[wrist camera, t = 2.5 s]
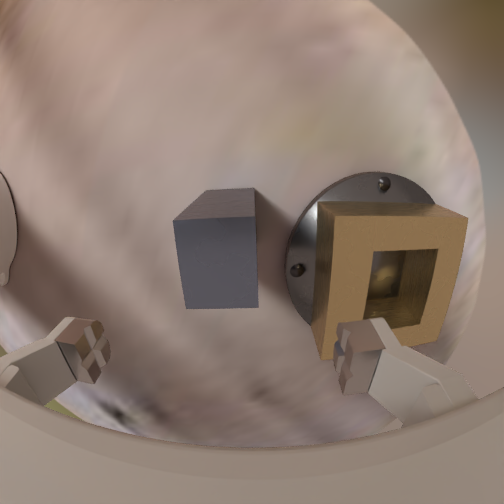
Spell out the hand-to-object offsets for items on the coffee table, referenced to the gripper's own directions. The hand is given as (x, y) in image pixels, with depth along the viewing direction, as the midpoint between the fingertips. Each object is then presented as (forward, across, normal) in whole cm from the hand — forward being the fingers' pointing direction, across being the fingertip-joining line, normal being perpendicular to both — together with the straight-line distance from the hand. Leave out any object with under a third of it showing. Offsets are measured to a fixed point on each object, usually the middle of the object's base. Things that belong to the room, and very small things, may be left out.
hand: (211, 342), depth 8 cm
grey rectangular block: (+16, +1, 0) cm, 16 cm away
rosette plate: (+16, -12, +4) cm, 21 cm away
